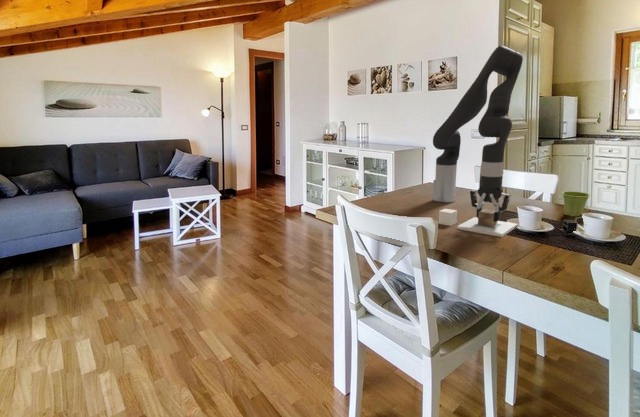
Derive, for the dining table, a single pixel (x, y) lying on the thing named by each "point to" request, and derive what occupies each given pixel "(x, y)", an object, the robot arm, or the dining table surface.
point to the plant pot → (574, 203)
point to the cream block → (447, 217)
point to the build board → (496, 230)
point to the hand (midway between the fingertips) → (487, 219)
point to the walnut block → (486, 218)
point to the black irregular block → (569, 226)
